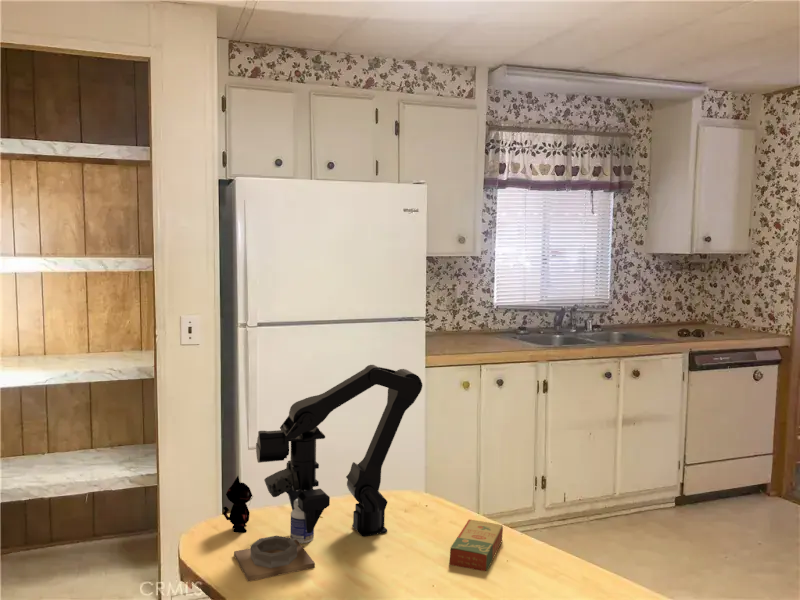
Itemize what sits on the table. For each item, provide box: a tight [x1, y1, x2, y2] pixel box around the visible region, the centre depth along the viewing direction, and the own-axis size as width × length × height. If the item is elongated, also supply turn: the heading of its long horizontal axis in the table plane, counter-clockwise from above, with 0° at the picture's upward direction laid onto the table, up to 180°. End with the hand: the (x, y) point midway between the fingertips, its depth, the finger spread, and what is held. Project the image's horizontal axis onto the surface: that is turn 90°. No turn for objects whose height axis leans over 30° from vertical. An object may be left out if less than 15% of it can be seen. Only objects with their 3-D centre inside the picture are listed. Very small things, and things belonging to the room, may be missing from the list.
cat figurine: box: [222, 475, 253, 534], centre depth 158 cm, size 7×7×12 cm
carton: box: [448, 518, 504, 572], centre depth 149 cm, size 8×16×4 cm, turn 159°
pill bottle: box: [289, 499, 315, 544], centre depth 154 cm, size 5×5×9 cm
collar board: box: [233, 535, 316, 582], centre depth 143 cm, size 14×12×4 cm
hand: (302, 524), depth 154 cm, fingers open, 9 cm apart
